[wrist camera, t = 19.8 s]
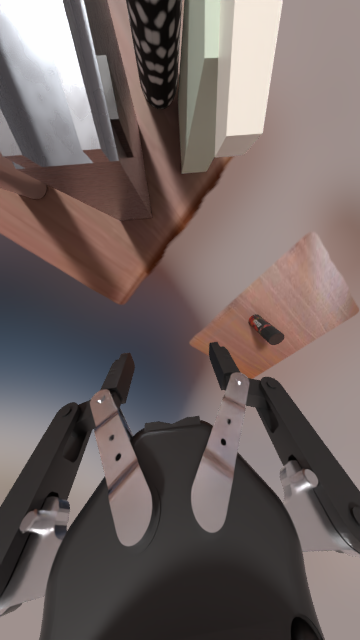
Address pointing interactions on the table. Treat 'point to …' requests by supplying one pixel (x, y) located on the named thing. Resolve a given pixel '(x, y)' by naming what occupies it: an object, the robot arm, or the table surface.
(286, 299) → the table surface
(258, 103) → the cream tall brick
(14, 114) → the tower
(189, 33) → the pale green tall brick
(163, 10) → the black white cylinder
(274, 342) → the deodorant
